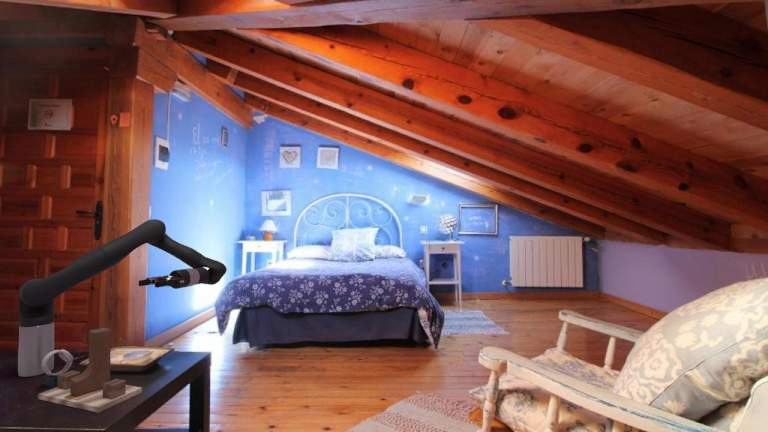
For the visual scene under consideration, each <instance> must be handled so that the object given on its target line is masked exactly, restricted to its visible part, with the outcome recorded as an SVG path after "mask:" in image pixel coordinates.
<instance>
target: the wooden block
mask: <svg viewBox="0 0 768 432" xmlns="http://www.w3.org/2000/svg"><path fill="white" fill-rule="evenodd" d="M111 332H112V331H111V329H110V328H107V327H100V328H95V329H90V330H89V331H88V363H87V367H86V369H85V370H83V372H82V373H80V375H78V376H76V377H74V378H71V380H70V393H71V394H72V395H74V396H75V397H76V396H79V395H83V394H86V393H89V392H92V391H95V390H98V389H102V388H103V384H104V383H107V382H109V381H111V352H112V351H111V349H112V348H111V346H112V345H111V343H112V342H111V338H112V337H111V336H112V335H111Z"/></svg>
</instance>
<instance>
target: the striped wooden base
mask: <svg viewBox="0 0 768 432" xmlns="http://www.w3.org/2000/svg"><path fill="white" fill-rule="evenodd" d="M78 375H81V371H78V370H77V371H76V370H70V371H66V373H63V374H60V375H58V387H55V388H53V387H52V388H51V389H48V390H45V391H43V392H40V393H38V395H37V399H38V400H41V401H44V402H45V401H46V402H50V403H54V404H59V405H63V406H68V407H72V408H76V409H79V410H80V409H81V410H85V411H90V412H93V413H97V414H99V413H101V412H104V411H105V410H108V409H110V408H112V407H114V406H116V405H118V404H120V403H123V402H124V401H127V400H129V399H131V398H133V397H135V396H138V395H139V394H141V393H143V392H142V391H143V388H142V387H140V386H134V385H129V384H126V381H127V380H125V379H120V378H115V379H112V380H110V381H109V382H107V383H104V384H103V388H102V389H98V390H95V391H92V392H89V393H86V394H83V395H79V396H76V397H75V396H74V395H72V394H71V393H70V380H71V378H74V377H76V376H78Z"/></svg>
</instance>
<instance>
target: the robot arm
mask: <svg viewBox="0 0 768 432" xmlns="http://www.w3.org/2000/svg"><path fill="white" fill-rule="evenodd" d="M166 232H167V226H166V224H165V223H164V221H163V220H160V219H156V218H155V219H153V218H152V219H148V220H146V221H144V222H142V223H141V224H140V225H138V226H136V227H135V228H133V229H131V230H130V231H129V232H126V233H124V234H122V235H121V236H118V237H117V238H114V239H112V240H110V241H107V242H105V243H104V244H102V245H100V246H98V247H96V248H93V249H92V250H89V251H88V252H86V253H84V254H82V255H81V256H80V257H78V258H77V259H75V260H74V261H72V262H71V263H70V264H68V265H67V266H65V267H64V268H63V269H60V270H59V271H57V272H55V273H53V274H50V275H48V276H45V277H43V278H38V277H37V278H33V279H29V280H27V281H26V282H24V283H23V284H22V285H21V286H20V288H19V290H18V322H19V323H18V325H19V326H18V327H19V328H18V329H19V330H18V350H17V353H18V354H17V374H18V376H19V377H22V378H26V377H28V378H29V377H34V376H39V375H43V374H46V373H45V372H44V371H43V370H42V368H41V366H42V365H41V363H42V360H43V359H44V357H45V356H46V355H47V354H48V353H49V352H52V351H54V350H55V311H54V300H55V299H57V298H58V297H60V296H61V295H63V294H64V293H66V292H68V291H69V290H70V289H71V288H73V287H75V286H77V285H79V284H81V283H83V282H85V281H87V280H89V279H91V278H92V277H95V276H97V275H99V274H101V273H103V272H105V271H107V270H109V269H111V268H112V267H114V266H116V265H117V264H119V263H121V261H122V260H124V259H125V258H126V257H128V256H129V255H130V254H131V253H132V252H133V251H135V250H136V249H137V248H139V247H141V246H143V245H146V244H148V245H149V246H152V247H155V248H157V249H159V250H161V251H164V252H165V253H167V254H170V255H171V256H173V257H175V259H178V260H179V261H181V262H183V263H184V264H186V265H187V266H189V267H190V268H183V269H175V270H172V271H171V272H170V273H169V275H167V274H166V275H159V276H153V277H146V278H145V279H141V280H138V286H139V287H145V286H154V288H155V289H157V288H162V287H167V288H168V287H169V288H172V289H175V290H179V289H183V288H187V287H192V286H195V285H200V284H201V285H210V286H212V285H216V284H218V283H219V282H220V280H221V279H222V278H223V277H224V276H225V274H226V273H227V269H228V268H227V266H226V265H225V264H224V263H223V262H221V261H218V260H216V259H213V258H210V257H207V256H205V255H204V254H202V253H200V252H199V251H198V250H196V249H194V248H192V247H190V246H188V245H185V244H182V243H180V242H178V241H176V240H175V239H173V238H171V237H170V236H169V235H168V234H167V233H166ZM207 268H208V269H207ZM46 364H47V366H48V368H49V370H50V371H51V372H52V370H54V369H55V367H54V366H55V354H53V355H52V356H51V357H50V358H49V359H47V362H46Z"/></svg>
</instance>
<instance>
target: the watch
mask: <svg viewBox="0 0 768 432" xmlns="http://www.w3.org/2000/svg"><path fill="white" fill-rule="evenodd" d="M53 354H54V355H55V354H57V355H58V357H59V358H60V359H61V360H63V361H64V363H66V364H65V365H64V366H63V368H62V369H60V370H57V371H55V372H52V370H51V371H50V370H49V368H48V366H47V364H46V362H47V359H49V358H50V357H51V356H52V355H53ZM73 360H74V356H73V355H72V354H71V353H70V352H69V351H68V350H65V349H64V348H62V349H54V351H52V352H49V353H48V354H47V355H46V356H45V357H44V359H43V360H42V363H41V365H42V366H41V368H42V370H43V371H44V372H45V373H44V374H45V375H43V385H44V386H46V387H50V388H52V389H53V388H56V387H58V375H60V374H63V373H66V372H68V370H69V369H70V368H71V366H72V364H73Z"/></svg>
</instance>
